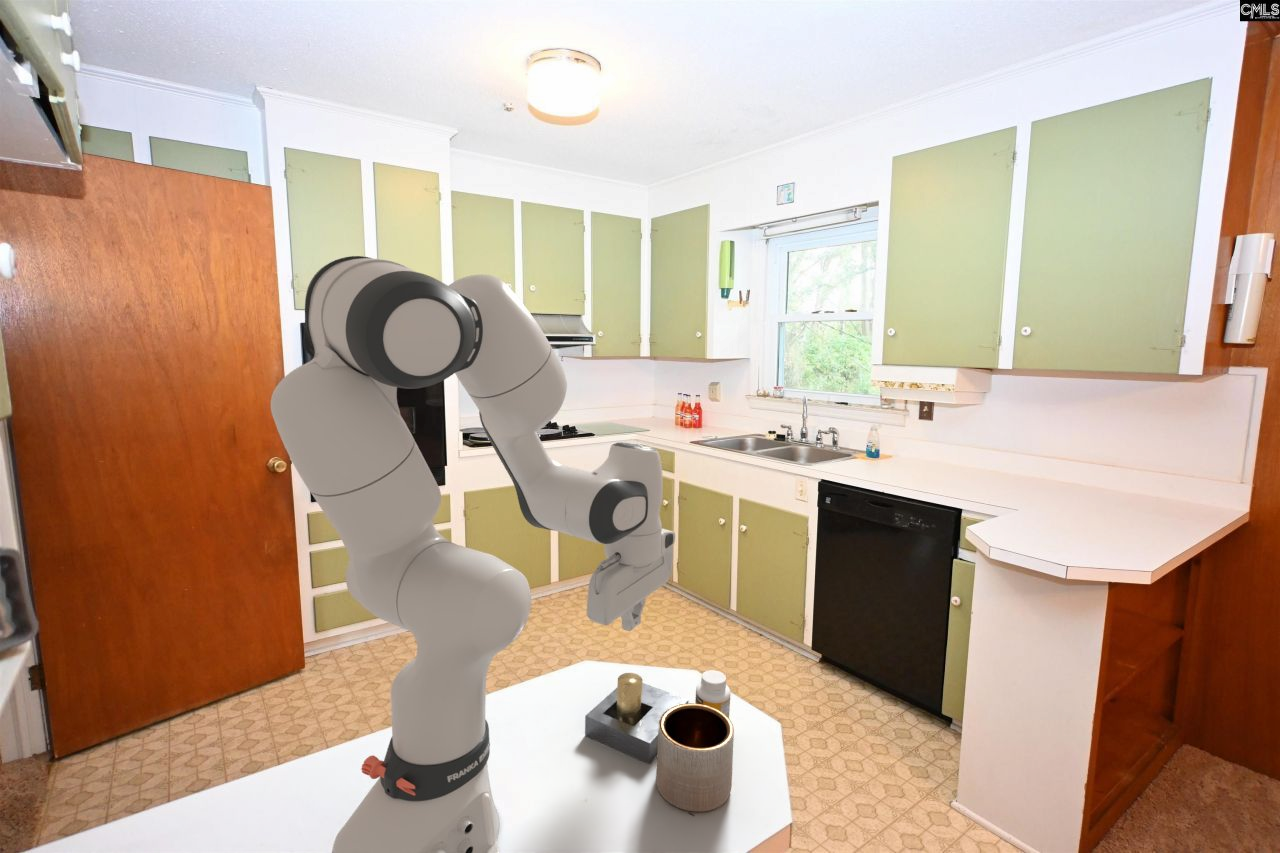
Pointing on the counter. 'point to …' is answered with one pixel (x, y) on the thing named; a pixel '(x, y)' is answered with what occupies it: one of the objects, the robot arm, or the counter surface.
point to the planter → (695, 757)
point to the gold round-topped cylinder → (629, 698)
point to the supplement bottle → (714, 691)
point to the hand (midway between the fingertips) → (631, 626)
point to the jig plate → (624, 736)
